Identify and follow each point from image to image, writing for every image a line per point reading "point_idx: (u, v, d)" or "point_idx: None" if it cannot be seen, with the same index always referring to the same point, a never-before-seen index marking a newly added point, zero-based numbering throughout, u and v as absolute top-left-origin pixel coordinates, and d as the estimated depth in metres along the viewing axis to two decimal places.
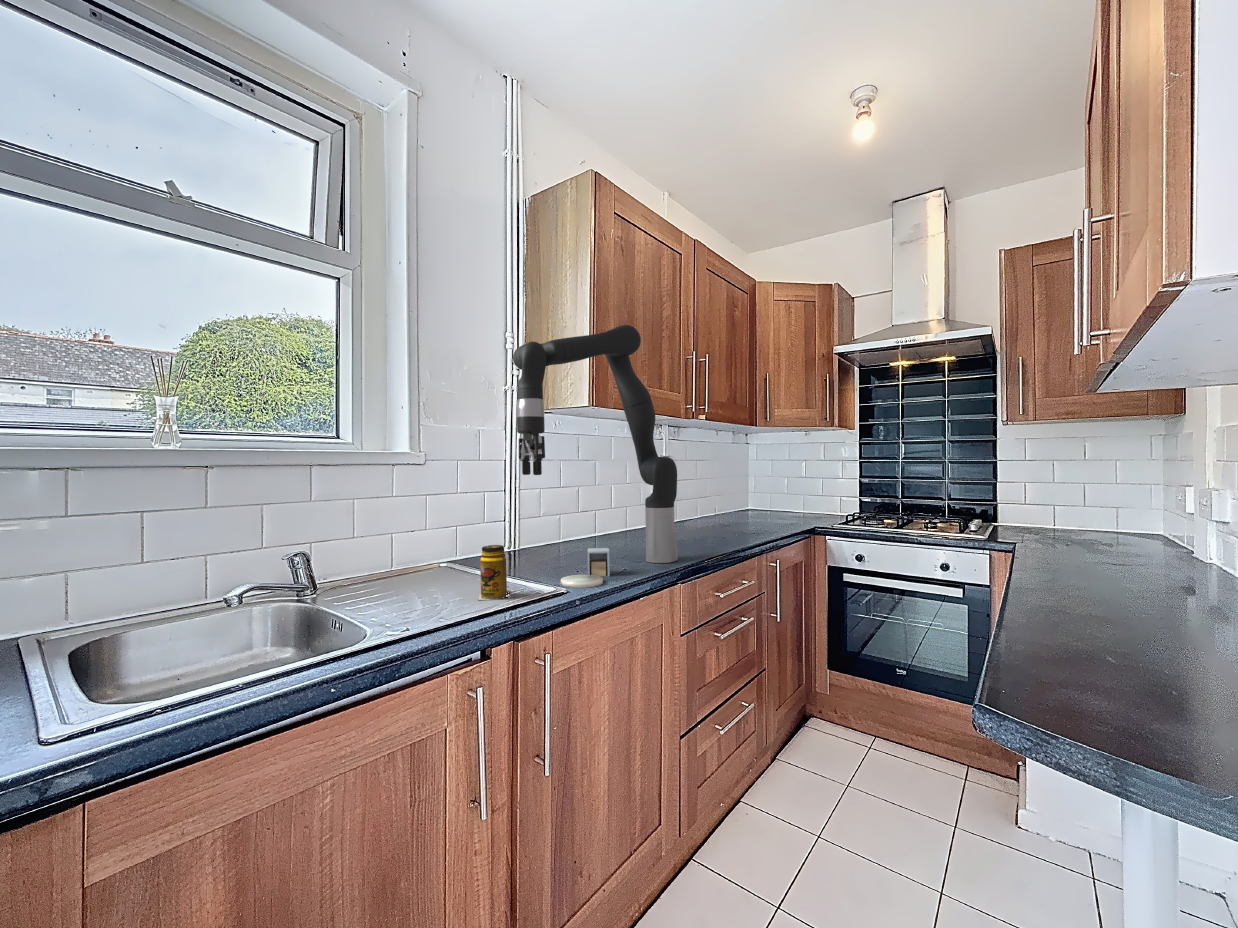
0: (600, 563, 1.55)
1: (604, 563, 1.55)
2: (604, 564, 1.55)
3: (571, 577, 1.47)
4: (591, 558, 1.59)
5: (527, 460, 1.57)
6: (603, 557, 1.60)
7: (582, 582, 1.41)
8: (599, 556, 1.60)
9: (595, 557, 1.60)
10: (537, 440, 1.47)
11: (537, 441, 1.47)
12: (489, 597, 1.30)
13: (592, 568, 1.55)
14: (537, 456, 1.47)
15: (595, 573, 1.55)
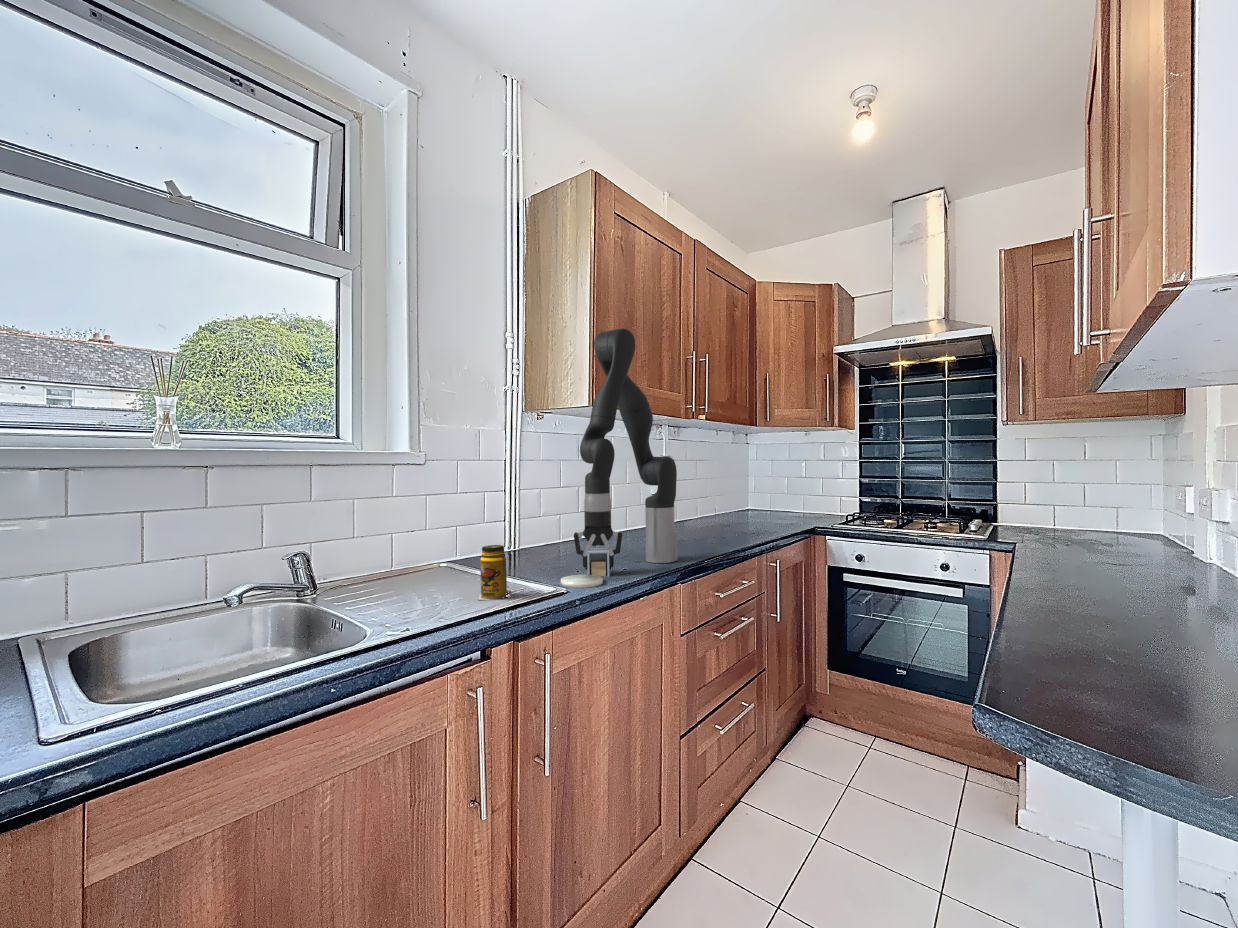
0: (600, 563, 1.55)
1: (604, 563, 1.55)
2: (604, 564, 1.55)
3: (571, 577, 1.47)
4: (591, 558, 1.60)
5: (609, 554, 1.57)
6: (603, 557, 1.60)
7: (582, 582, 1.41)
8: (599, 556, 1.60)
9: (595, 557, 1.60)
10: None
11: None
12: (489, 597, 1.30)
13: (592, 568, 1.55)
14: None
15: (595, 573, 1.55)
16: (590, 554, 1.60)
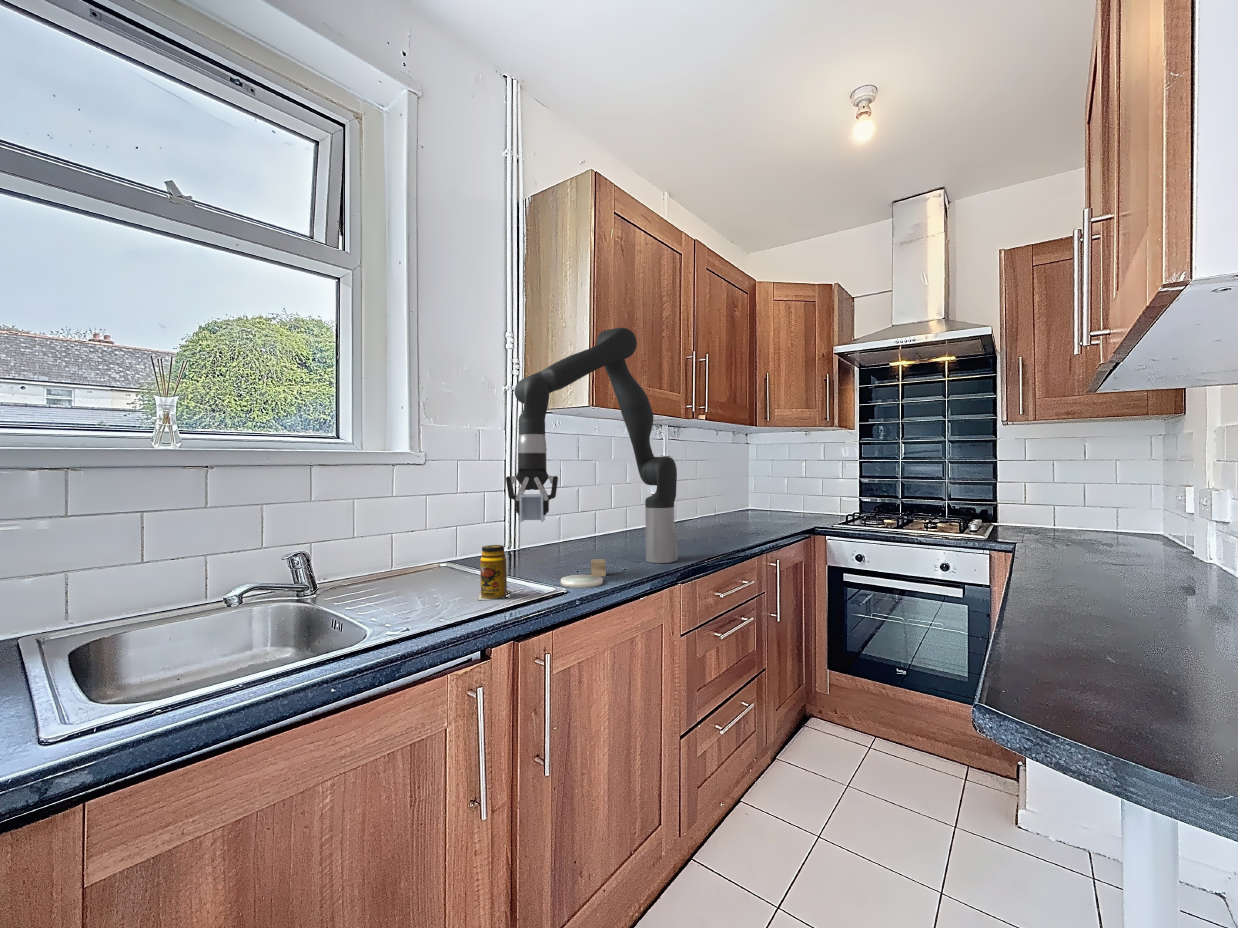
0: (600, 563, 1.55)
1: (604, 563, 1.55)
2: (604, 564, 1.55)
3: (571, 577, 1.47)
4: (526, 504, 1.51)
5: (544, 499, 1.48)
6: (538, 503, 1.51)
7: (582, 582, 1.41)
8: (534, 502, 1.51)
9: (530, 503, 1.51)
10: None
11: None
12: (489, 597, 1.30)
13: (592, 568, 1.55)
14: None
15: (595, 573, 1.55)
16: (525, 500, 1.51)
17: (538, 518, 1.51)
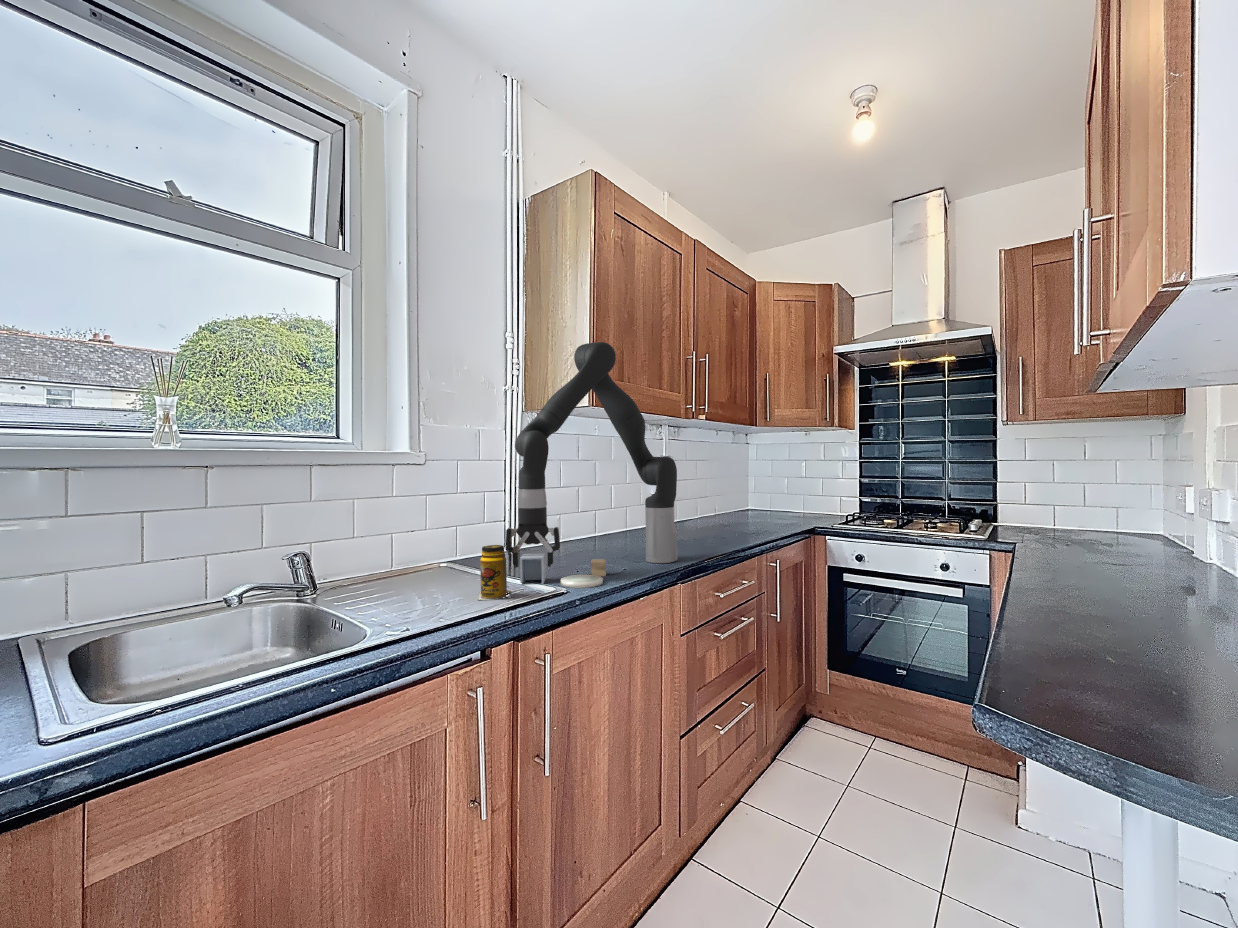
0: (600, 563, 1.55)
1: (604, 563, 1.55)
2: (604, 564, 1.55)
3: (571, 577, 1.47)
4: (526, 564, 1.51)
5: (548, 551, 1.48)
6: (539, 563, 1.51)
7: (582, 582, 1.41)
8: (535, 562, 1.51)
9: (531, 563, 1.51)
10: None
11: None
12: (489, 597, 1.30)
13: (592, 568, 1.55)
14: None
15: (595, 573, 1.55)
16: (526, 560, 1.51)
17: (539, 578, 1.51)
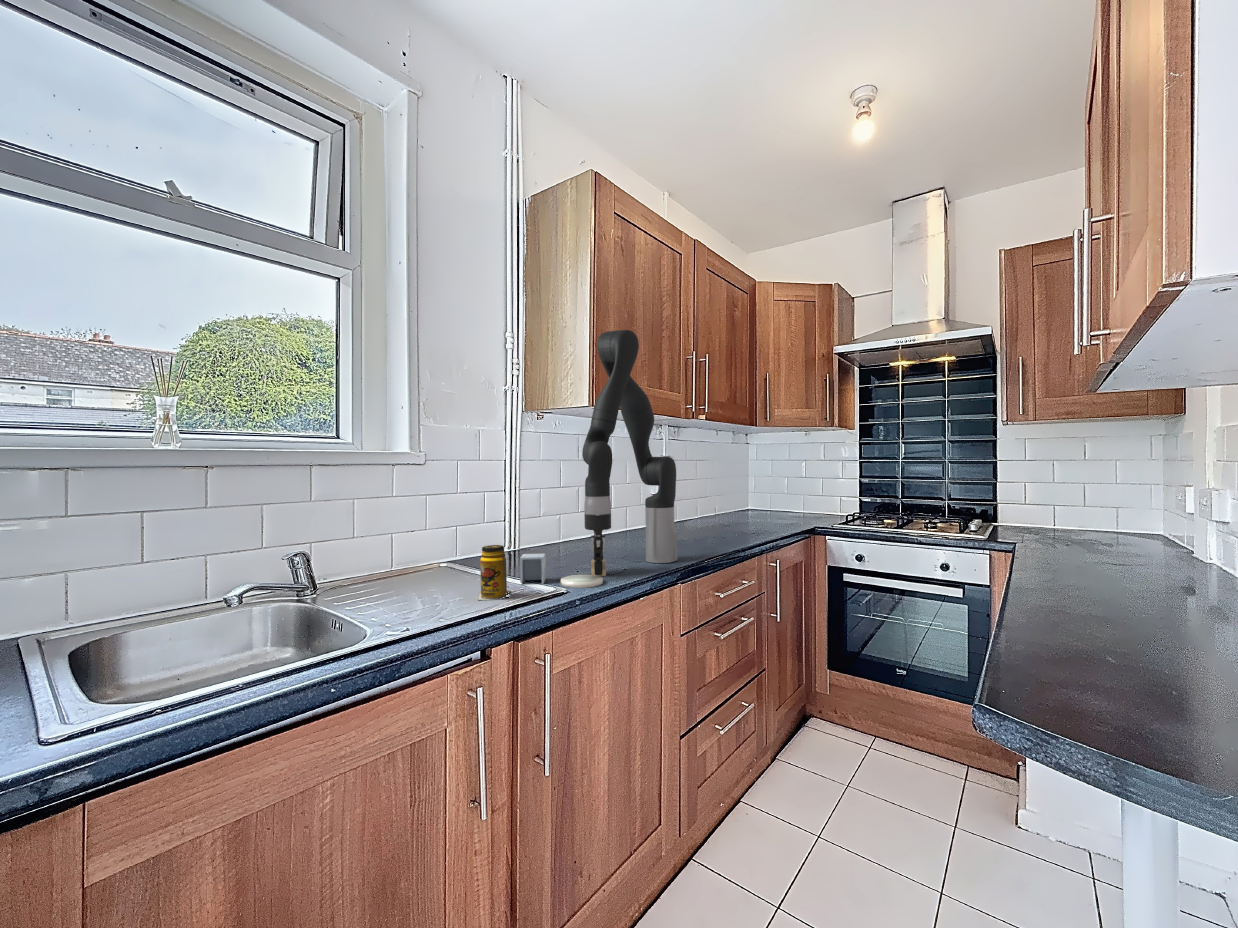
0: None
1: (604, 563, 1.55)
2: (604, 564, 1.55)
3: (571, 577, 1.47)
4: (527, 564, 1.51)
5: None
6: (539, 563, 1.51)
7: (582, 582, 1.41)
8: (535, 562, 1.51)
9: (531, 563, 1.51)
10: None
11: None
12: (489, 597, 1.30)
13: (592, 568, 1.55)
14: None
15: None
16: (526, 560, 1.51)
17: (539, 578, 1.51)
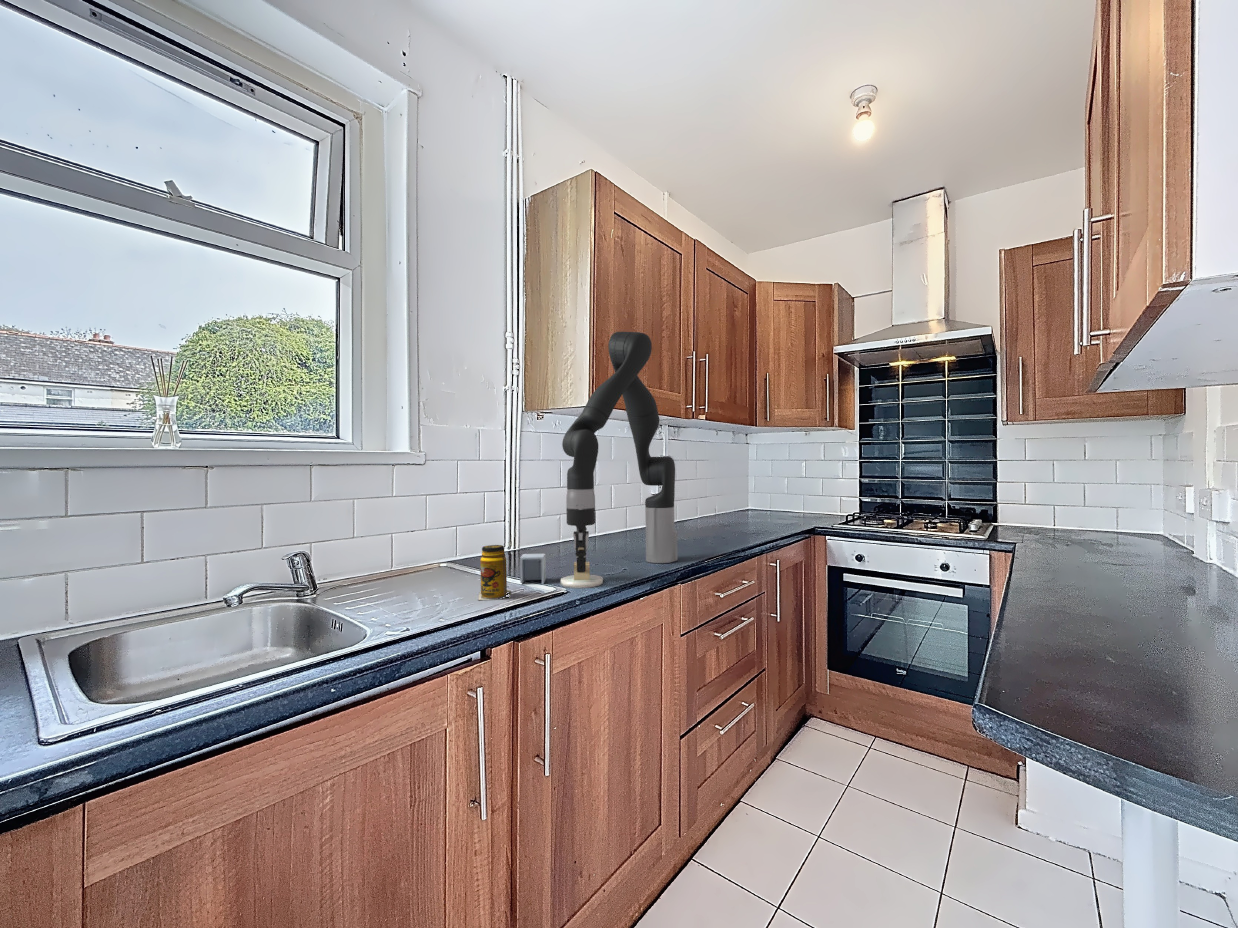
0: None
1: (588, 566, 1.44)
2: (587, 567, 1.44)
3: (571, 577, 1.47)
4: (527, 564, 1.51)
5: None
6: (539, 563, 1.51)
7: (582, 582, 1.41)
8: (535, 562, 1.51)
9: (531, 563, 1.51)
10: None
11: None
12: (489, 597, 1.30)
13: (575, 571, 1.44)
14: None
15: (578, 577, 1.44)
16: (526, 560, 1.51)
17: (539, 578, 1.51)
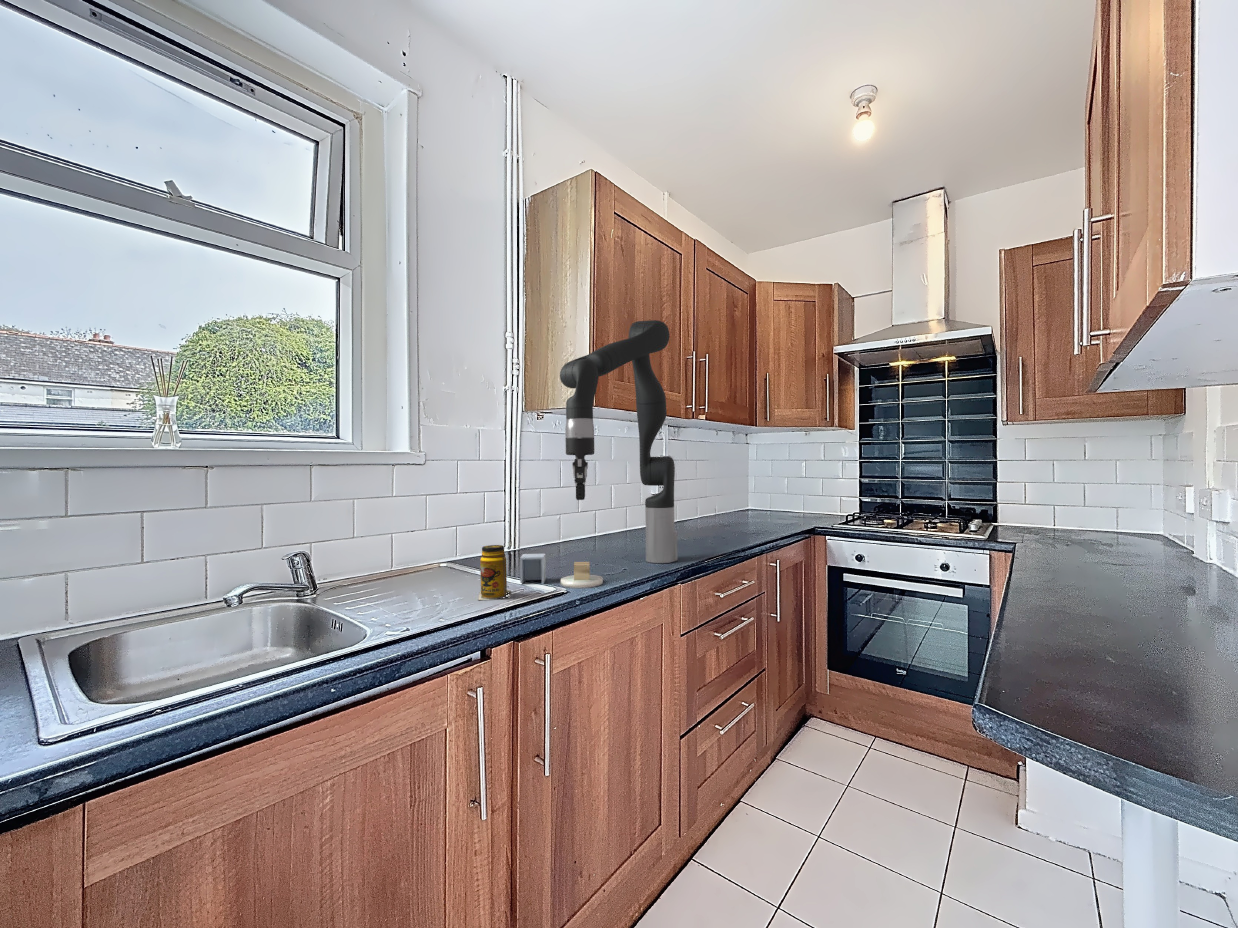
0: (583, 566, 1.44)
1: (588, 566, 1.44)
2: (587, 567, 1.44)
3: (571, 577, 1.47)
4: (527, 564, 1.51)
5: None
6: (539, 563, 1.51)
7: (582, 582, 1.41)
8: (535, 562, 1.51)
9: (531, 563, 1.51)
10: None
11: None
12: (489, 597, 1.30)
13: (575, 571, 1.44)
14: None
15: (578, 577, 1.44)
16: (526, 560, 1.51)
17: (539, 578, 1.51)
